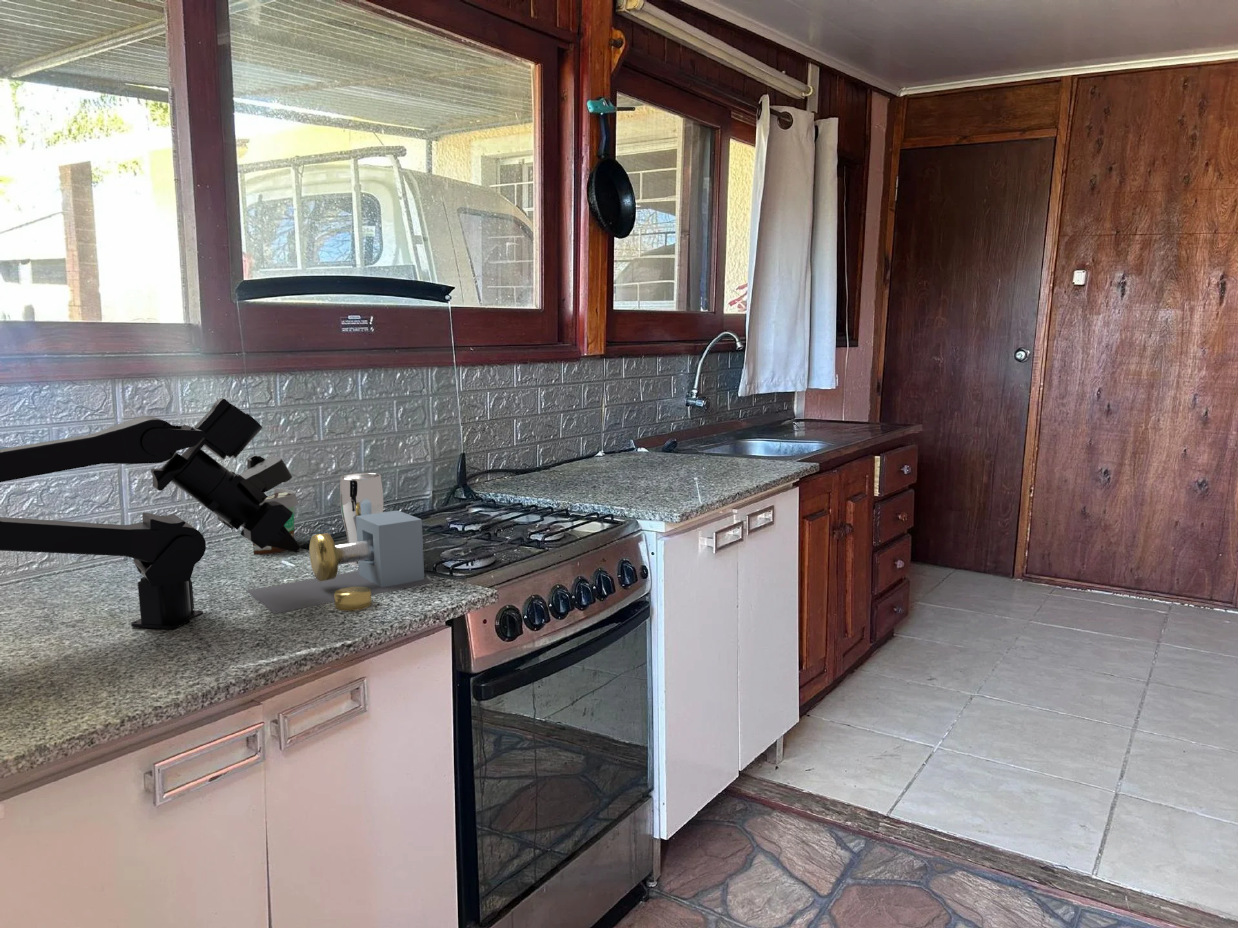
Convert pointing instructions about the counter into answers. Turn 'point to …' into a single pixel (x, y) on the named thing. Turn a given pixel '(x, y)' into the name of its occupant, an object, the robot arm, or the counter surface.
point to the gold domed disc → (352, 598)
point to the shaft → (336, 555)
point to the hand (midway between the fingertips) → (297, 549)
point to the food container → (289, 502)
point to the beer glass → (359, 500)
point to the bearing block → (392, 548)
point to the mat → (317, 591)
